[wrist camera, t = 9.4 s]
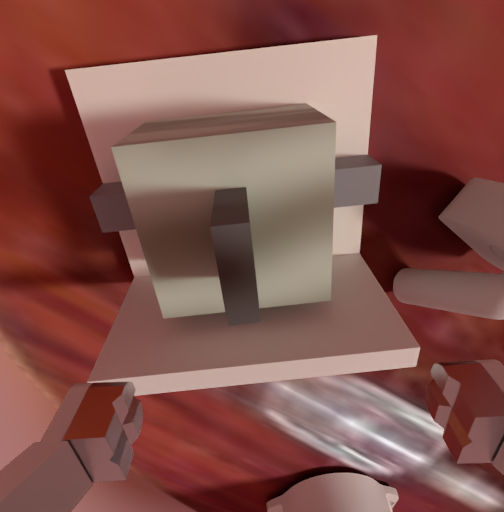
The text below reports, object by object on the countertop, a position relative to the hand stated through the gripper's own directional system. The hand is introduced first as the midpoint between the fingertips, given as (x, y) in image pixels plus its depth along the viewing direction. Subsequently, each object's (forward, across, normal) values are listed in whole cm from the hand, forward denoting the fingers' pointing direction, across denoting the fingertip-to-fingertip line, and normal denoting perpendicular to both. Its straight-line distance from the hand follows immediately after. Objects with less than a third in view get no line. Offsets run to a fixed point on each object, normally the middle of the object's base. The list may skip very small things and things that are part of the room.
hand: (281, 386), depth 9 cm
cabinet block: (+16, +2, 0) cm, 16 cm away
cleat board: (+18, +2, 0) cm, 18 cm away
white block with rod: (+19, -14, +7) cm, 25 cm away
